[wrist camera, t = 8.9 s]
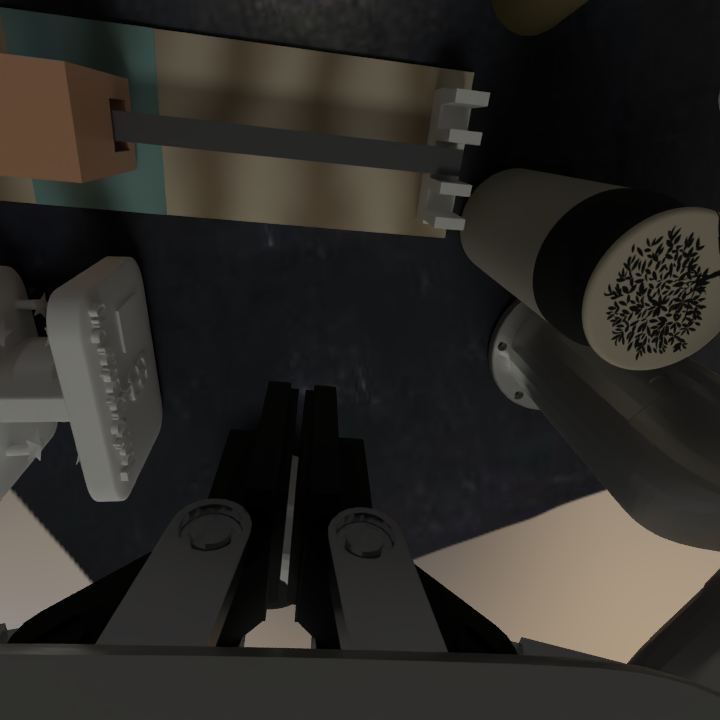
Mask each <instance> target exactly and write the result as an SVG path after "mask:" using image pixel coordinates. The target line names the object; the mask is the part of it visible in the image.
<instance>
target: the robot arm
mask: <svg viewBox="0 0 720 720" xmlns="http://www.w3.org/2000/svg"><path fill="white" fill-rule="evenodd" d="M500 342H501V343H500ZM499 343H500V344H499ZM488 361H489V369H490V372H491V374H492V377H493V380H494V381H495V383H496V384H497V386H498V387H499V388H500V390H501V391H502V392H503V393H504V394H505V396H506V397H508V398H509V399H510V400H511V401H513V402H514V403H517V404H519V405H521V406H523V407H527V408H531V409H536V410H541V411H542V413H543V414H544V415H545V416H546V417H547V419H548V420H549V421H550V422H551V423H552V425H553V426H554V427H555V428H556V429H557V430H558V432H559V433H560V434H561V435H562V436H563V438H564V439H565V440H566V441H567V442H568V444H569V445H570V446H571V447H572V448H573V450H574V451H575V452H576V453H577V454H578V455H579V457H580V458H581V459H582V460H583V461H584V463H585V464H586V465H587V466H588V467H589V469H590V470H591V471H592V472H593V473H594V475H595V476H596V477H597V478H598V479H599V481H600V482H601V483H602V484H603V485H604V486H605V488H606V489H607V490H608V491H609V492H610V493H611V495H612V496H613V497H614V498H615V500H616V501H617V502H618V503H619V504H620V505H621V507H622V508H623V509H624V510H625V511H626V512H627V513H628V514H629V515H630V516H631V517H632V518H633V519H634V520H635V521H636V522H638V523H639V524H640V525H642V526H643V527H644V528H646V529H648V530H649V531H651V532H653V533H654V534H656V535H658V536H660V537H663V538H665V539H668V540H671V541H674V542H677V543H680V544H684V545H688V546H692V547H697V548H702V549H708V550H713V551H720V376H719V375H717V374H716V373H714V372H712V371H711V370H709V369H707V368H706V367H704V366H702V365H701V364H699V363H697V362H696V361H694V360H692V359H691V358H689V357H686V358H684V359H682V360H680V361H678V362H676V363H673V364H671V365H668V366H664V367H661V368H656V369H650V370H629V369H624V368H620V367H617V366H614V365H612V364H610V363H608V362H607V361H605V360H604V359H602V358H601V357H600V356H599V355H598V354H597V353H596V352H595V351H594V350H593V349H592V347H589V346H584V345H581V344H578V343H576V342H574V341H572V340H570V339H569V338H567V337H566V336H565V335H563V334H562V333H561V332H559V331H558V330H557V329H556V328H554V327H553V326H552V325H551V324H549V323H548V322H547V321H546V320H544V319H543V318H542V317H541V316H539V315H538V314H537V313H536V312H534V311H533V310H532V309H530V308H529V307H528V306H527V305H525V304H524V303H523V302H522V301H520V300H519V299H518V298H517V299H516V300H515V301H514V302H513V303H512V304H511V305H510V306H509V307H508V308H507V310H506V311H505V312H504V314H503V315H502V316H501V318H500V319H499V321H498V323H497V325H496V327H495V329H494V331H493V333H492V337H491V340H490V343H489V352H488ZM298 394H299V389H292V388H291V383H288V382H277V381H269V384H268V389H267V393H266V397H265V402H264V406H263V411H262V415H261V419H260V424H259V428H258V431H249V430H236V429H231V430H230V433H229V436H228V439H227V442H226V445H225V448H224V451H223V454H222V457H221V460H220V464H219V467H218V470H217V473H216V476H215V479H214V482H213V485H212V488H211V491H210V494H209V498H208V499H206V500H200V501H198V502H195V503H192V504H190V505H188V506H186V507H185V508H183V509H182V510H180V511H179V512H178V513H177V515H176V516H175V517H174V518H173V519H172V521H171V522H170V524H169V525H168V527H167V529H166V530H165V532H164V534H163V535H162V537H161V538H160V540H159V542H158V543H157V545H156V546H155V548H154V550H153V551H151V552H150V553H148V554H146V555H144V556H142V557H140V558H139V559H137V560H135V561H133V562H131V563H129V564H128V565H126V566H124V567H122V568H120V569H118V570H117V571H115V572H113V573H111V574H109V575H107V576H106V577H104V578H102V579H100V580H98V581H96V582H95V583H93V584H91V585H89V586H87V587H85V588H84V589H82V590H80V591H78V592H76V593H75V594H73V595H71V596H69V597H67V598H65V599H63V600H61V601H60V602H58V603H56V604H54V605H53V606H50V607H49V608H47V609H45V610H43V611H41V612H40V613H38V614H37V615H35V616H34V617H32V618H31V619H29V620H28V621H26V622H25V623H24V624H23V625H22V626H21V627H20V628H18V629H12V630H7V629H6V625H5V623H4V624H0V720H720V569H719V570H718V571H717V572H716V573H715V574H714V575H713V576H712V577H711V578H710V579H709V580H708V581H707V582H706V583H705V585H704V587H703V588H702V589H701V590H700V591H699V592H698V593H697V594H696V595H695V596H694V597H693V598H692V599H691V600H690V601H689V602H688V603H687V604H686V605H684V606H683V607H682V608H681V609H680V610H679V611H678V612H677V613H676V614H675V615H674V616H673V617H672V618H671V619H670V620H669V621H668V622H667V623H666V624H664V625H663V626H662V627H661V628H660V629H659V630H658V631H657V632H656V633H655V634H654V635H653V636H652V637H651V638H650V640H648V641H647V642H646V643H645V644H644V645H643V646H642V647H641V648H640V649H639V650H638V652H637V653H636V654H635V655H634V656H633V657H632V658H631V660H630V661H629V662H628V663H627V664H624V663H621V662H617V661H613V660H609V659H605V658H601V657H597V656H593V655H589V654H585V653H582V652H577V651H574V650H570V649H566V648H561V647H558V646H554V645H550V644H546V643H542V642H538V641H534V640H531V639H527V638H523V637H522V638H521V640H520V642H519V643H516V642H512V641H510V640H509V638H508V637H507V635H505V634H504V633H503V632H502V631H501V630H500V629H499V628H498V627H497V626H496V625H495V624H493V623H492V622H491V621H489V620H488V619H486V618H485V617H484V616H483V615H481V614H480V613H479V612H477V611H476V610H474V609H473V608H472V607H471V606H469V605H468V604H467V603H465V602H464V601H463V600H462V599H460V598H459V597H458V596H456V595H455V594H454V593H452V592H451V591H450V590H448V589H447V588H445V587H444V586H443V585H442V584H440V583H439V582H438V581H436V580H435V579H434V578H432V577H431V576H430V575H428V574H427V573H426V572H424V571H423V570H422V569H420V568H419V567H418V566H416V565H415V564H414V562H413V560H412V557H411V555H410V552H409V549H408V547H407V544H406V542H405V539H404V536H403V534H402V532H401V530H400V528H399V526H398V525H397V523H396V522H395V521H394V520H392V519H391V518H390V517H389V516H388V515H386V514H384V513H382V512H380V511H378V510H374V509H372V503H371V495H370V487H369V479H368V472H367V464H366V456H365V449H364V442H363V440H362V439H351V438H339V437H338V416H337V395H336V387H331V386H321V385H315V386H314V390H306V393H305V402H304V411H303V421H302V430H301V440H300V449H299V459H298V468H297V478H296V488H295V500H294V512H293V525H292V537H291V549H290V561H289V573H288V585H287V597H286V604H294V605H296V611H295V622H299V624H301V626H302V627H303V628H304V629H305V630H306V631H308V633H310V635H311V636H312V639H311V649H301V648H256V647H255V648H254V647H244V642H245V635H246V634H247V633H248V632H249V631H251V630H252V629H253V628H254V627H256V626H257V625H258V624H260V623H261V622H262V621H265V618H266V610H267V604H278V594H279V584H280V574H281V564H282V554H283V544H284V534H285V524H286V514H287V505H288V495H289V485H290V475H291V464H292V454H293V444H294V434H295V424H296V414H297V404H298Z"/></svg>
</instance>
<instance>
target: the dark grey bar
mask: <svg viewBox="0 0 720 720" xmlns="http://www.w3.org/2000/svg"><path fill="white" fill-rule="evenodd" d="M110 113H111V121H112V130H113V139H114V141H122V142H132V143H142V144H151V145H161V146H170V147H180V148H190V149H199V150H209V151H218V152H228V153H238V154H247V155H257V156H266V157H276V158H286V159H295V160H305V161H314V162H324V163H334V164H343V165H353V166H362V167H372V168H382V169H391V170H401V171H410V172H420V173H430V174H439V175H449V176H458V177H459V174H460V169H461V163H462V158H463V152H464V150H462V149H454V148H445V147H436V146H427V145H418V144H409V143H401V142H392V141H383V140H374V139H365V138H356V137H347V136H338V135H330V134H321V133H312V132H303V131H294V130H285V129H276V128H268V127H259V126H250V125H241V124H232V123H223V122H214V121H206V120H197V119H188V118H179V117H170V116H161V115H152V114H144V113H135V112H126V111H117V110H110Z"/></svg>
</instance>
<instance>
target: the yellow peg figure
mask: <svg viewBox="0 0 720 720" xmlns="http://www.w3.org/2000/svg"><path fill="white" fill-rule="evenodd" d="M587 1H588V0H491V3H492V7H493V9H494V11H495V13H496V15H497V17H498V19H499V21H500V22H501V23H502V24H503V25H504V26H505V27H506V28H507V29H508V30H509V31H511V32H514V33H516V34H519V35H521V36H535V35H538V34H541V33H543V32H546V31H548V30H550V29H551V28H553V27H554V26H555V25H557V24H558V23H559V22H561V21H562V20H563V19H565V18H566V17H567V16H569V15H570V14H571V13H573V12H574V11H575V10H576V9H578V8H579V7H580V6H582V5H583V4H584V3H586V2H587Z"/></svg>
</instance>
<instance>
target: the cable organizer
mask: <svg viewBox="0 0 720 720" xmlns="http://www.w3.org/2000/svg"><path fill="white" fill-rule="evenodd" d="M46 308H47V311H46ZM31 310H36V311H35V314H34V316H35V315H37V314H39V313H41V314H42V315H43V316H44V318H45V314H46V326H47V328H45V330H46V333H47V335H48V337H39V336H38V333H37V329H36V325H35V322H34V318H33V314H32V311H31ZM68 421H70V424H71V428H72V432H73V436H74V440H75V443H76V447H77V448H76V449H77V451H78V459H77V463H78V462H79V461H80V462H81V466H82V470H83V474H84V478H85V482H86V485H87V489H88V491H89V493H90V495H91V497H92V498H93V499H94V500H95V501H98V502H103V501H124V500H126V499H127V498H128V496H129V494H130V492H131V490H132V488H133V486H134V484H135V482H136V480H137V478H138V475H139V473H140V471H141V469H142V467H143V465H144V463H145V461H146V459H147V457H148V455H149V452H150V450H151V448H152V446H153V444H154V442H155V440H156V438H157V436H158V434H159V431H160V428H161V423H162V401H161V395H160V388H159V382H158V375H157V369H156V362H155V356H154V349H153V343H152V337H151V330H150V324H149V317H148V311H147V304H146V298H145V291H144V285H143V280H142V275H141V272H140V269H139V266H138V264H137V262H136V261H135V260H134V259H133V258H132V257H113V256H107V257H105V258H103V259H102V260H100V261H99V262H97V263H96V264H94V265H93V266H91V267H90V268H88V269H86V270H85V271H83V272H82V273H80V274H79V275H77V276H76V277H74V278H73V279H71V280H69V281H68V282H66V283H65V284H63V285H62V286H60V287H59V288H57V289H56V290H54V291H53V292H52V294H51V296H50V298H49V301H48V302H47V301H46V298H45V293H44V294H43V296H42V298H41V299H40V300H39V299H34V300H29V299H28V296H27V292H26V289H25V286H24V284H23V281H22V279H21V278H20V276H19V275H18V273H17V272H16V271H15V270H14V269H13V268H11V267H9V266H0V500H1V499H2V498H3V497H4V496H5V494H6V493H7V492H8V490H9V489H10V488H11V487H12V486H13V485H14V483H15V482H16V481H17V480H18V478H19V477H20V476H21V475H22V473H23V472H24V471H25V470H26V469H27V467H28V466H29V465H30V464H31V462H32V461H33V460H34V459H35V458H36V457H37V458H38V459H39V460H41V450H42V449H43V448H44V447H45V445H46V444H47V443H48V442H49V440H50V439H51V438H52V437H53V435H54V433H55V431H56V427H57V422H68ZM77 463H76V464H77Z"/></svg>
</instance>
